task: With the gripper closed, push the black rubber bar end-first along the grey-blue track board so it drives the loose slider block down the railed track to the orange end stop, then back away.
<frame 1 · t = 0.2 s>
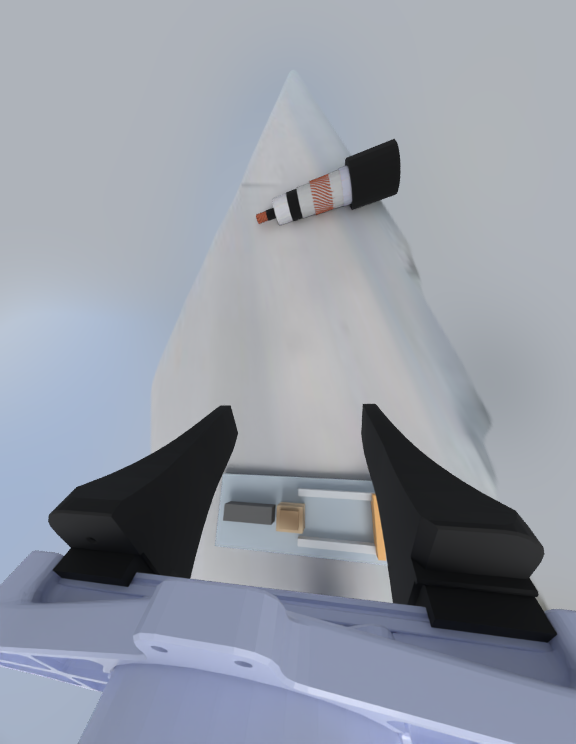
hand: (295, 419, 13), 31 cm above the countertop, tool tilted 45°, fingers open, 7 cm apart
bar: (252, 510, 39), point 1 cm above the countertop, touching channel
channel: (300, 512, 39), on the countertop
cable: (322, 212, 61), on the countertop
slider block: (290, 517, 36), point 3 cm above the countertop, slide at 0.0 cm
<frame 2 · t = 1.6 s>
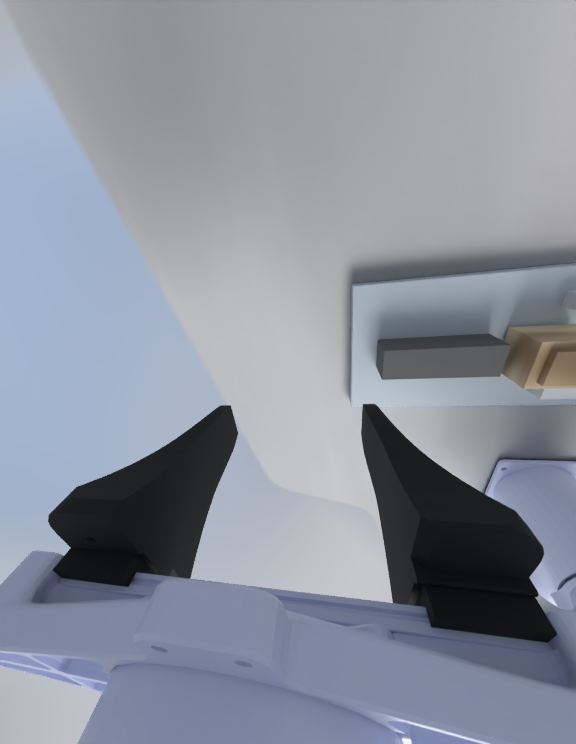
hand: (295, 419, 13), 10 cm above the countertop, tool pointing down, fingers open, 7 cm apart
bar: (428, 350, 19), point 1 cm above the countertop, touching channel
channel: (532, 339, 19), on the countertop
slider block: (552, 357, 16), point 3 cm above the countertop, slide at 0.0 cm
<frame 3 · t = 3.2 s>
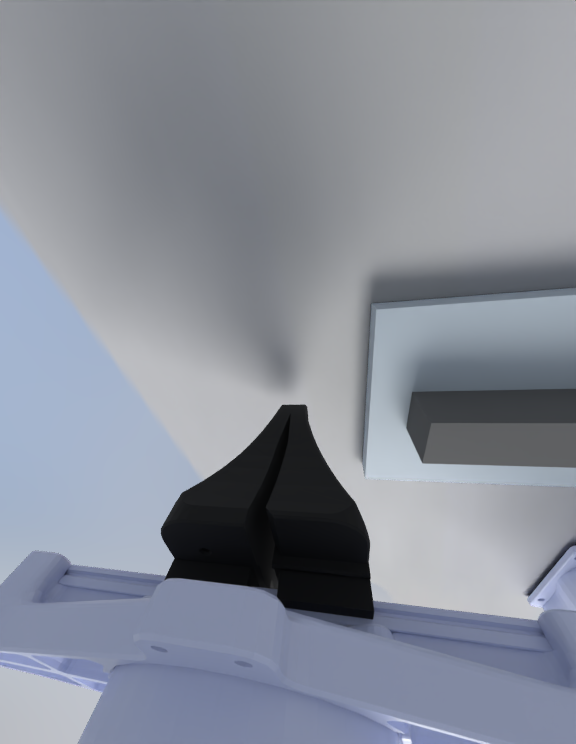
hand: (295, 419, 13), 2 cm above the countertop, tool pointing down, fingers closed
bar: (494, 410, 12), point 1 cm above the countertop, touching channel
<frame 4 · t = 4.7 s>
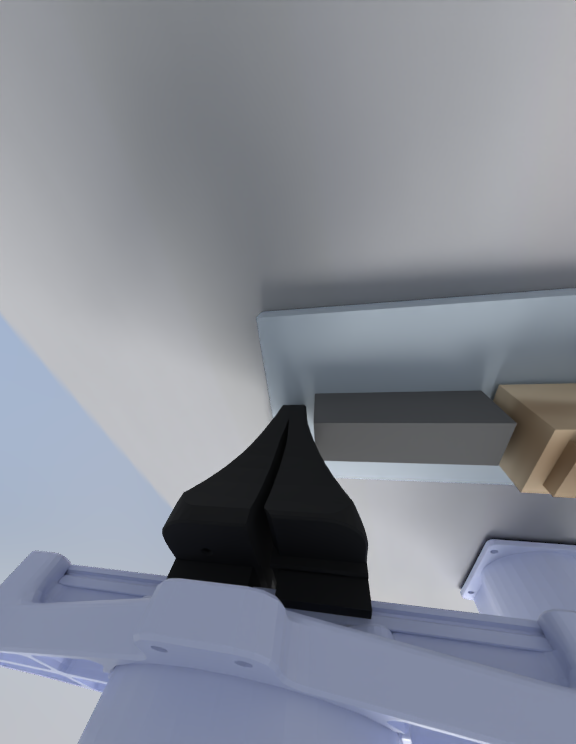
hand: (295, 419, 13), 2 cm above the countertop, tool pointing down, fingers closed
bar: (391, 410, 13), point 1 cm above the countertop, touching gripper
channel: (534, 396, 12), on the countertop
slider block: (568, 440, 10), point 3 cm above the countertop, slide at 0.0 cm
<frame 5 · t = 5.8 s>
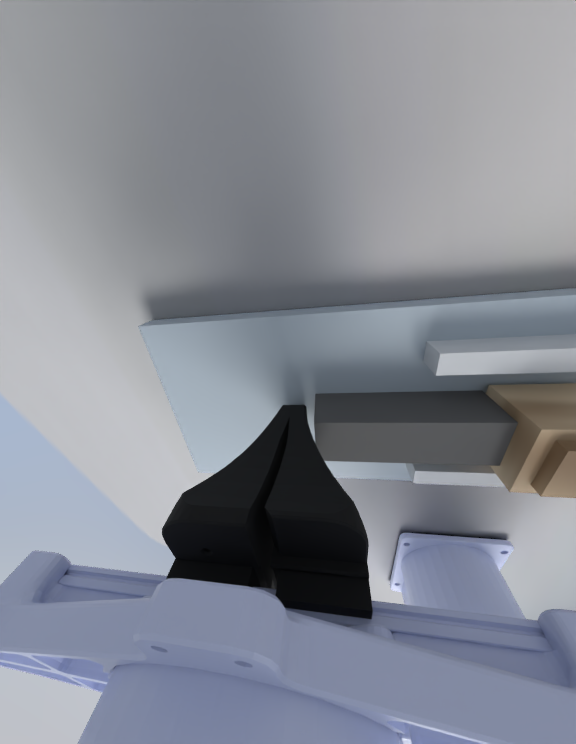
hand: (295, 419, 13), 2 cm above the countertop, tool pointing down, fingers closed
bar: (391, 411, 13), point 1 cm above the countertop, touching gripper, slider block
channel: (407, 397, 13), on the countertop
slider block: (556, 440, 10), point 3 cm above the countertop, slide at 5.9 cm, touching bar
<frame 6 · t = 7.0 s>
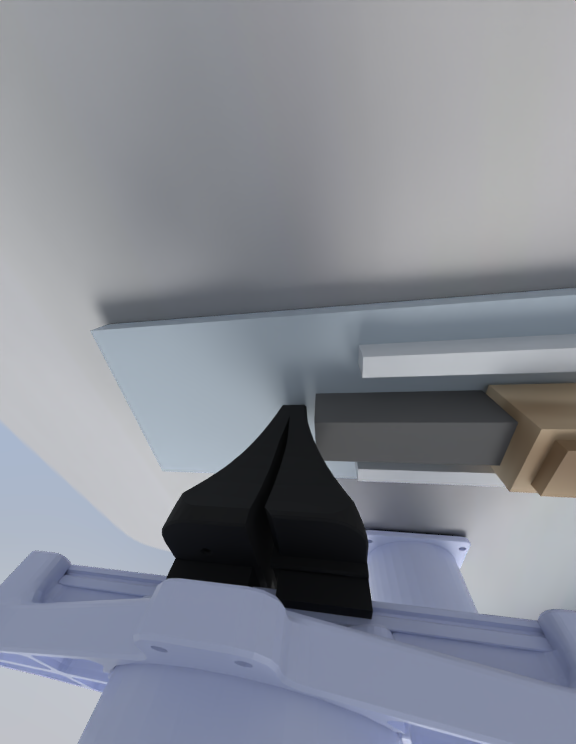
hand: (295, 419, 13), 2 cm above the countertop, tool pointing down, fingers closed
bar: (392, 410, 13), point 1 cm above the countertop, touching gripper, slider block
channel: (353, 398, 14), on the countertop
slider block: (556, 440, 10), point 3 cm above the countertop, slide at 8.8 cm, touching bar
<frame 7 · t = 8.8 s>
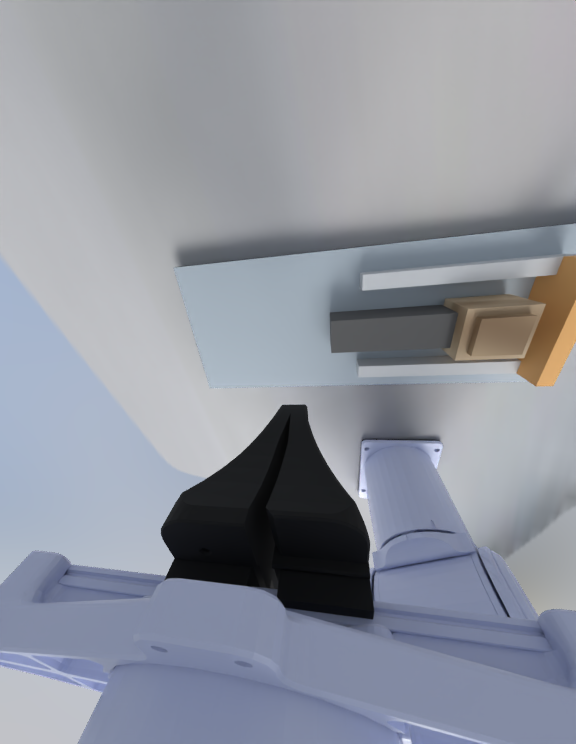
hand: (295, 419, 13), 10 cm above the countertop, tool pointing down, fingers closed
bar: (382, 324, 18), point 1 cm above the countertop, touching channel
channel: (355, 321, 20), on the countertop
slider block: (484, 328, 15), point 3 cm above the countertop, slide at 8.8 cm
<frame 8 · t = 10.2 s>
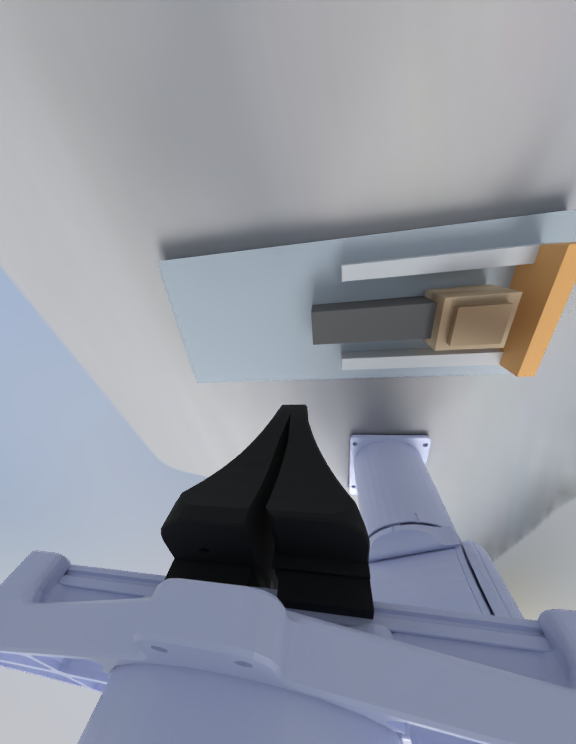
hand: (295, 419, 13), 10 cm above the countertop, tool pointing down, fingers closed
bar: (364, 316, 18), point 1 cm above the countertop, touching channel
channel: (339, 314, 20), on the countertop
slider block: (464, 318, 15), point 3 cm above the countertop, slide at 8.8 cm
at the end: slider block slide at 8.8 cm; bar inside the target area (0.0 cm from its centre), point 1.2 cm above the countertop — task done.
